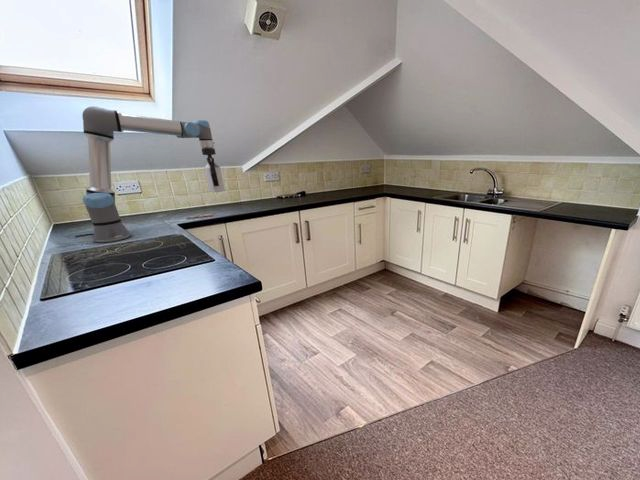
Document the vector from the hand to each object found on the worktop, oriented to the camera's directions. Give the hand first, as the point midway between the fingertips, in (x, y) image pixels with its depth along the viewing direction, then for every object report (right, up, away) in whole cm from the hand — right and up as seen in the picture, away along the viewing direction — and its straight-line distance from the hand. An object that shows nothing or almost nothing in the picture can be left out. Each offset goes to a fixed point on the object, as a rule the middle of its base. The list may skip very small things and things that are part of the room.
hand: (216, 185), depth 196 cm
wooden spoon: (-14, -20, +7) cm, 26 cm away
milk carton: (0, -4, +2) cm, 4 cm away
